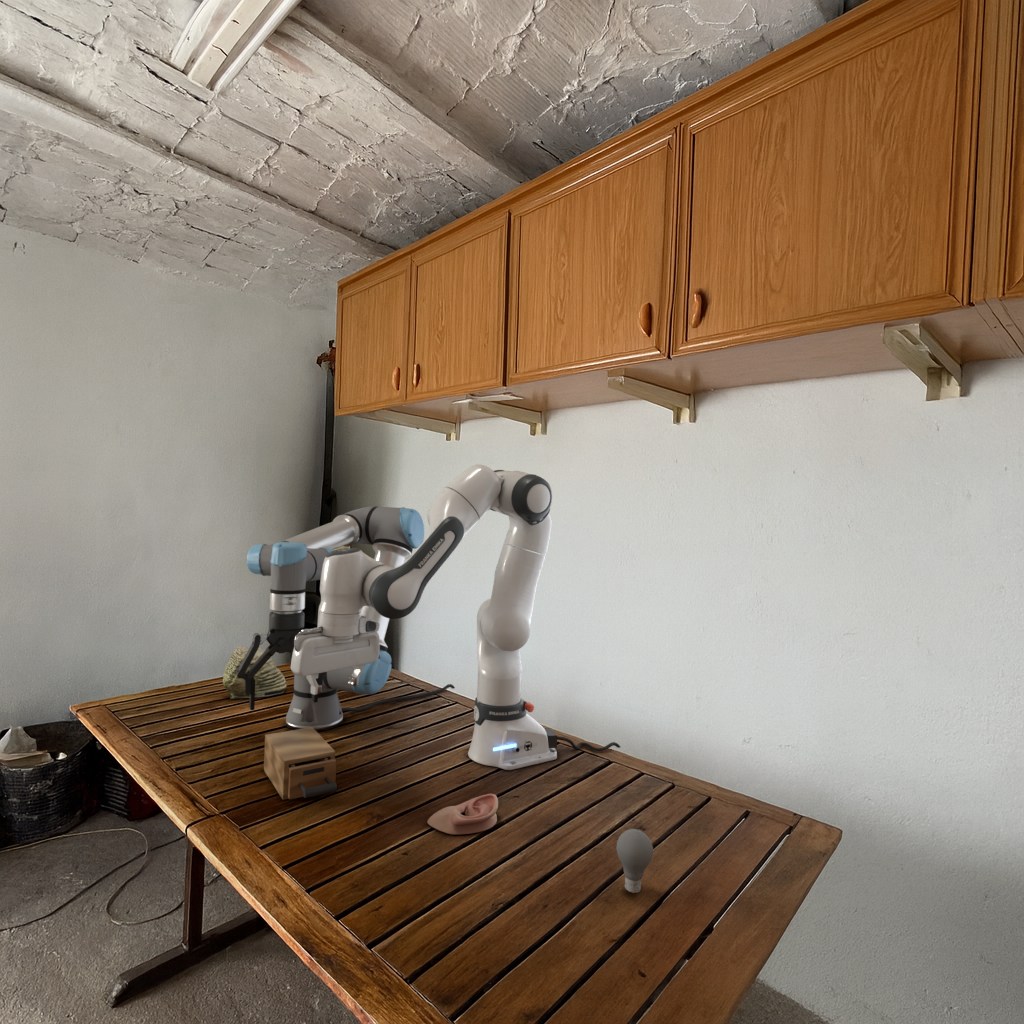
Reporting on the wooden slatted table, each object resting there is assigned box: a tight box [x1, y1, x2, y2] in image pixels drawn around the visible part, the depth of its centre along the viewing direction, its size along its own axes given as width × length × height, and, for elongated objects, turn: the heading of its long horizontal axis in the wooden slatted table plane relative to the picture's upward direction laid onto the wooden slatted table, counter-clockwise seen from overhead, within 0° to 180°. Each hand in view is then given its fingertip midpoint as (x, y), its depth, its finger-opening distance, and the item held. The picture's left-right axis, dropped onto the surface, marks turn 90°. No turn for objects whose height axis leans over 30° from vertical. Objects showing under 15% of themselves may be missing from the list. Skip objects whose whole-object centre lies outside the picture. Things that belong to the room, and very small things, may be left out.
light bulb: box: [615, 828, 654, 894], centre depth 106 cm, size 6×6×10 cm
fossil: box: [222, 646, 288, 699], centre depth 198 cm, size 9×18×15 cm, turn 132°
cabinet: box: [263, 727, 336, 801], centre depth 141 cm, size 16×11×8 cm, turn 35°
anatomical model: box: [427, 793, 499, 836], centre depth 126 cm, size 13×4×12 cm
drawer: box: [288, 757, 338, 801], centre depth 137 cm, size 20×10×6 cm, turn 34°
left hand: (283, 704), depth 143 cm, fingers open, 13 cm apart
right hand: (335, 689), depth 134 cm, fingers open, 8 cm apart
